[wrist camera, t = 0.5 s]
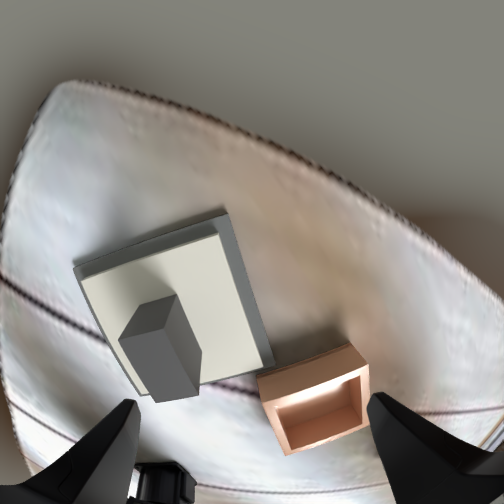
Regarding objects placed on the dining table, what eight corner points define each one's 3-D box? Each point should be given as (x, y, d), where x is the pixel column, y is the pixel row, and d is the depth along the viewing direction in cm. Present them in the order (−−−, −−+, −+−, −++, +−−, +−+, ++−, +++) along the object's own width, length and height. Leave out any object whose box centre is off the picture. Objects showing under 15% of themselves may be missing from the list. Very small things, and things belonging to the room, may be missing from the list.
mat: (141, 392, 22) (140, 396, 21) (75, 266, 18) (72, 268, 18) (274, 361, 22) (276, 365, 22) (228, 213, 19) (228, 214, 18)
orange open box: (277, 429, 25) (285, 456, 21) (255, 373, 23) (261, 403, 19) (355, 401, 25) (369, 424, 21) (349, 340, 23) (368, 364, 19)
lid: (143, 387, 21) (129, 435, 15) (86, 277, 18) (46, 307, 12) (261, 359, 21) (274, 410, 15) (218, 232, 19) (217, 252, 13)
